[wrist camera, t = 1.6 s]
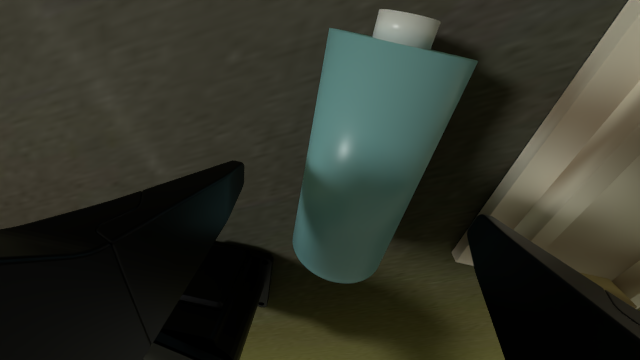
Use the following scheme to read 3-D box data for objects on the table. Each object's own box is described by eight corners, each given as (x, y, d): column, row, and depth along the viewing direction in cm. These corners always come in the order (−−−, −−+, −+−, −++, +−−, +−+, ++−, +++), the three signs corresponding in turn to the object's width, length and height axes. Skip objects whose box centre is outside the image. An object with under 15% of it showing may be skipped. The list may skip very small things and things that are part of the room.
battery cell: (375, 221, 16) (387, 291, 12) (299, 207, 16) (284, 273, 12) (453, 30, 10) (532, 35, 6) (335, 4, 10) (332, -11, 6)
